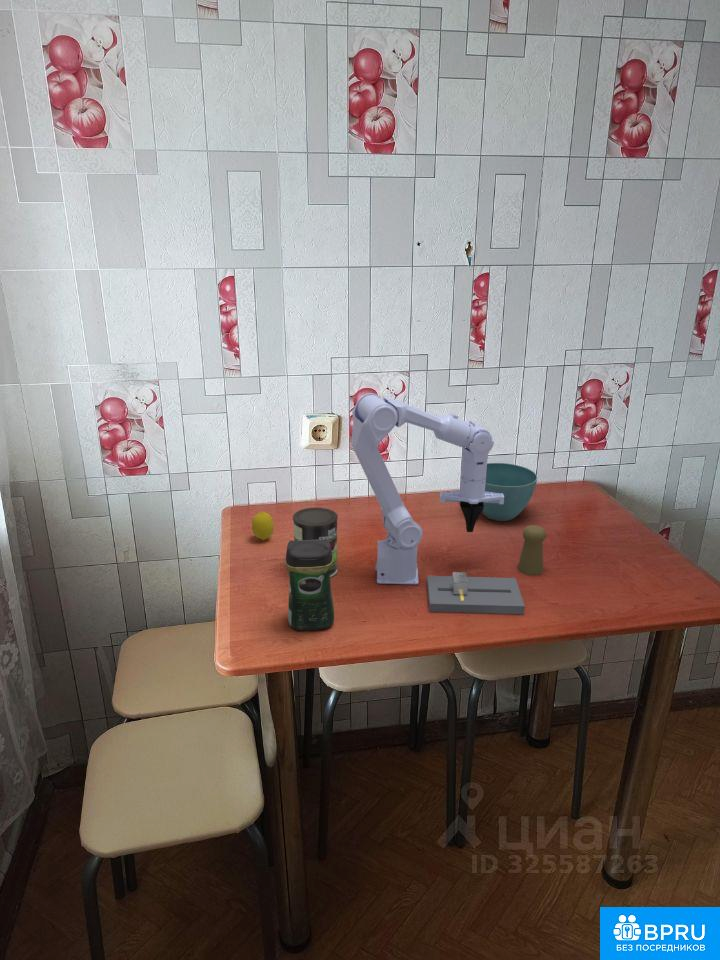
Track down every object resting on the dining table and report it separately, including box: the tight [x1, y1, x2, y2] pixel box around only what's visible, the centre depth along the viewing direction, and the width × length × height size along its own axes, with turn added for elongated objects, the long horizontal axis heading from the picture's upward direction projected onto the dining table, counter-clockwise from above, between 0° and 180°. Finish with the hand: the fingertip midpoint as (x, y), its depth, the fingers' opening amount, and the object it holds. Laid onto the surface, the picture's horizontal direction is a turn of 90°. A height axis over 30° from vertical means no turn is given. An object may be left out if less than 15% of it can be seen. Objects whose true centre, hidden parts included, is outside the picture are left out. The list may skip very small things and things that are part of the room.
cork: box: [517, 524, 547, 576], centre depth 170 cm, size 6×6×11 cm
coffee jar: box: [284, 539, 335, 631], centre depth 147 cm, size 10×8×19 cm
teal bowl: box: [481, 462, 538, 522], centre depth 198 cm, size 18×18×12 cm
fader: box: [451, 571, 468, 595], centre depth 158 cm, size 3×4×3 cm
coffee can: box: [292, 507, 338, 579], centre depth 168 cm, size 10×10×14 cm
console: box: [426, 575, 526, 615], centre depth 159 cm, size 20×12×2 cm, turn 88°
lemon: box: [251, 510, 275, 541], centre depth 184 cm, size 6×6×8 cm
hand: (469, 530), depth 170 cm, fingers closed
